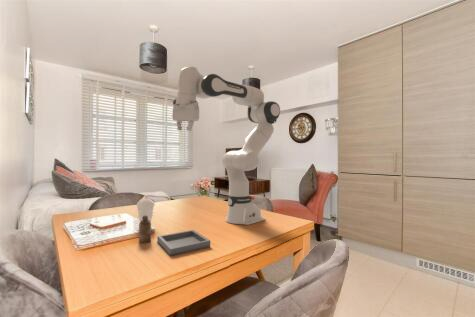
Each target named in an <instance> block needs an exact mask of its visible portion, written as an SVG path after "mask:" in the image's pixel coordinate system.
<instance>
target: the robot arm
mask: <svg viewBox="0 0 475 317" xmlns="http://www.w3.org/2000/svg"><path fill="white" fill-rule="evenodd" d="M177 85H178V91H177V96H176V98H175V99H174V100H173V101H172V106H173V107H172V113H171V114H172V116H171V117H172V118H171V119H172V120H173V121H175V122H176V127H177V128H176V129H177V130H178V131H182V130H183V126H182V122H187V123H188V125H187V126H186V131H188V132H191V131H192V130H193V129H192V128H193V126H194V122H198V121H199V120H200V106H199V102H198V101H197V98H199V99H202V100H203V99H208V98H214V97H218V96H219V97H220V96H221V95H225V96H230V97H231V98H232V101H233V102H234V103H235V104H238V105H240V106H246V107H247V118H248V120H249V121H250V122H251V123H254V124H256V125H255V127H254V128H253V129H252V131H250V132H249V134H248V135H247V136H246V137H245V138H244V140H243V147H242V148H241V149H238V150H230V151H227V152H225V153H224V154H223V156H222V159H221V162H222V164H223V166H224V167H225V169H226V173H227V178H228V196H227V197H228V198H227V203H228V208H227V212H226V217H225V222H226V223H228V224H233V225H246V226H248V225H252V224H255V223H256V224H257V223H260V222H263V221H265V220H266V218H265V217H264V216H263V215H262V213H261V209H260V208H259V206H257V205H256V204H255V203H253V201H254V200H255V199H256V197H255V195H254V196H253V195H250V181H249V179H248V178H247V177H246V173H245V172H248V171H254V170H255V169H256V168H257V167H258V166H259V163H260V162H259V154H260V152H261V151H262V149H263V148H264V147H265V145H266V144H267V143H268V141H269V140H270V138H271V137H272V135H273V133H274V131H275V130H274V126H273V124H275V123H277V119H279V116H280V114H281V107H280V104H279V103H277V102H276V101H271V100H270V101H264V99H265V95H264V92H263V91H262V90H261V89H260V88H257V87H254V86H252V85H247V84H239V83H234V82H231V81H227V80H225V79H224V78H223V77H221V76H220V75H218V74H216V73H210V74H208V75H206V76H204V75H203V74H201V73H200V71H199V70H198V68H197V67H195V66H185V67H183V68H182V69H180V71H179V77H178V84H177Z"/></svg>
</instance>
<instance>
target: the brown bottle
mask: <svg viewBox="0 0 475 317" xmlns="http://www.w3.org/2000/svg"><path fill="white" fill-rule="evenodd" d="M142 219H143V220H141V221H140V220H139V224H138V243H140V244H148V243H149V242H151V241H152V239H151V238H152V236H151V235H152V221H151V222H150V220H148V216H146V215H145V216H143V217H142Z"/></svg>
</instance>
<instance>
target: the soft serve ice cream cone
mask: <svg viewBox="0 0 475 317" xmlns="http://www.w3.org/2000/svg"><path fill="white" fill-rule="evenodd" d="M155 205H156V204H155V201H153V200H152V198H151V197H150V195H148V194H144V196H143V197H142V198H140V199H139V201H137V203H136V207H137V212H138V219H139V222H140V221H141V220H143V219H142V217H143V216H145V215H146V216H148V220H150V222H151V223H152V218H153V216H154V215H153V213H154V207H155Z"/></svg>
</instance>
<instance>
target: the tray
mask: <svg viewBox="0 0 475 317" xmlns="http://www.w3.org/2000/svg"><path fill="white" fill-rule="evenodd" d="M156 239H157V244H158V245H159V246H160V247H161V248H163V250H164V251H165V253H167V254H168V255H169V256H170V257H173V256H177V255H181V254H186V253H190V252H193V251H199V250H203V249H207V248H208V249H209V248H210V247H211V240H210V239H209V238H207V237H206V236H204V235H203V234H201V233H199V232H198V231H196V230H194V229H189V230H185V231H178V232H173V233H168V234H162V235H161V234H160V235H157V238H156Z"/></svg>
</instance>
